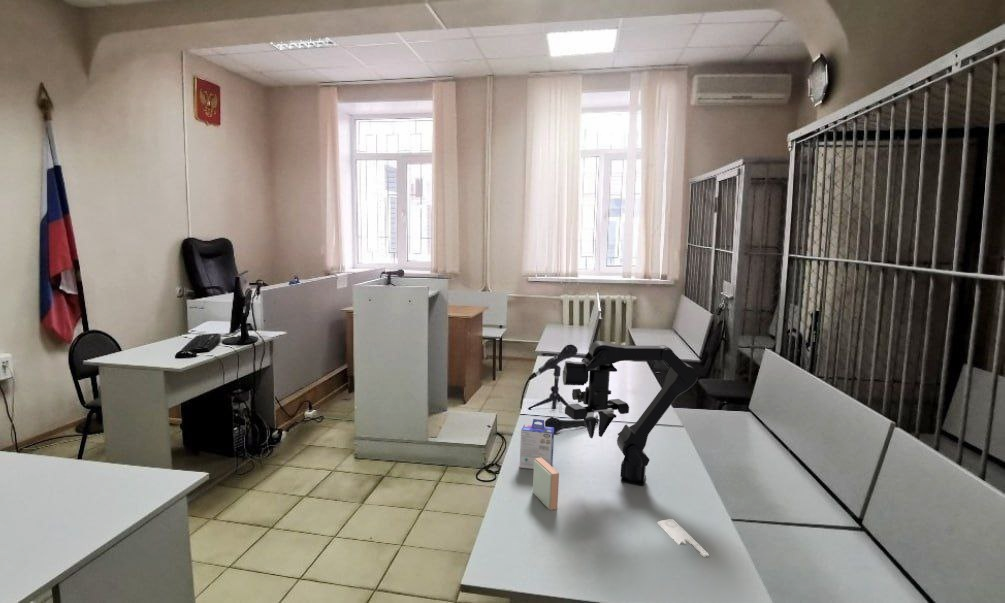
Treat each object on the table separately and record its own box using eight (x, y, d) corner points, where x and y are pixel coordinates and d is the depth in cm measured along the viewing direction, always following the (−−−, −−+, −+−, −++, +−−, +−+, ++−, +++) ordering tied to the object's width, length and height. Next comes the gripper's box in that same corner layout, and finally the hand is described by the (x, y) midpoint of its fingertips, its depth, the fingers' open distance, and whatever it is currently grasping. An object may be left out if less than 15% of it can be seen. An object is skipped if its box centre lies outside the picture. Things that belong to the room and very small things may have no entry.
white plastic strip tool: (689, 560, 119) (689, 555, 119) (655, 524, 133) (655, 520, 133) (709, 557, 120) (709, 553, 120) (673, 522, 135) (673, 518, 134)
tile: (539, 491, 148) (541, 457, 146) (557, 508, 138) (559, 472, 137) (532, 492, 147) (533, 458, 145) (549, 510, 138) (551, 474, 136)
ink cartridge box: (553, 464, 165) (555, 419, 163) (551, 472, 159) (553, 426, 158) (522, 460, 167) (523, 416, 165) (519, 468, 161) (520, 422, 159)
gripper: (609, 375, 163) (606, 423, 165) (556, 380, 155) (554, 431, 158) (631, 385, 153) (628, 437, 155) (576, 391, 145) (573, 445, 147)
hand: (595, 437), depth 154 cm, fingers open, 3 cm apart
